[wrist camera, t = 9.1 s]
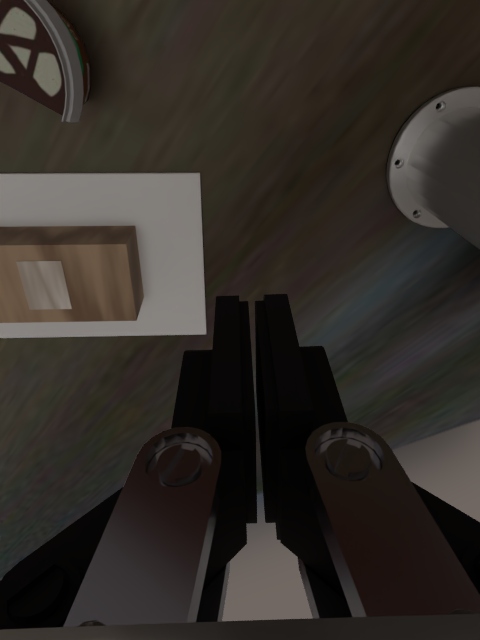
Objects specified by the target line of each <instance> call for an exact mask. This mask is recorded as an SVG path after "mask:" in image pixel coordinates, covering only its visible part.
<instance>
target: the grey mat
mask: <svg viewBox="0 0 480 640" xmlns="http://www.w3.org/2000/svg"><path fill="white" fill-rule="evenodd" d="M24 226H135V227H136V236H137V244H138V252H139V260H140V268H141V276H142V284H143V293H144V299H143V302H142V305H141V308H140V312H139V315H138V318H137V321H92V322H32V323H0V338H29V337H84V336H140V335H195V334H206V311H205V286H204V261H203V236H202V211H201V186H200V172H190V173H0V227H24Z"/></svg>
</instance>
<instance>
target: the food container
mask: <svg viewBox="0 0 480 640" xmlns="http://www.w3.org/2000/svg"><path fill="white" fill-rule="evenodd" d="M0 81H1V82H3V83H4V84H6V85H8V86H10V87H12V88H14V89H16V90H17V91H19V92H21V93H23V94H25V95H27V96H28V97H30V98H32V99H34V100H36V101H37V102H39V103H41V104H43V105H45V106H46V107H48V108H50V109H52V110H54V111H55V112H57V113H59V114H61V115H63V117H62V121H67V122H79V119H80V115H81V111H82V105H83V104H84V103H86V102H87V100H88V96H89V92H90V89H91V66H90V63H89V59H88V56H87V52H86V49H85V45H84V44H83V42H82V40H81V38H80V37H79V35H78V33H77V32H76V30H75V28H74V26H73V25H72V24H71V23H70V22H69V21H68V20H67V19H66V18H65V17H64V16H63V15H62V14H61V13H60V12H59V11H57V10H56V9H55V8H53V7H52V6H51V5H50V4H49V2H48V1H47V0H0Z"/></svg>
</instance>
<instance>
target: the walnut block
mask: <svg viewBox="0 0 480 640" xmlns="http://www.w3.org/2000/svg"><path fill="white" fill-rule="evenodd" d="M143 299H144V293H143V284H142V276H141V268H140V260H139V252H138V244H137V236H136V227H135V226H24V227H0V323H32V322H92V321H137V318H138V315H139V312H140V308H141V305H142V302H143Z"/></svg>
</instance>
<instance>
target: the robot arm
mask: <svg viewBox="0 0 480 640" xmlns="http://www.w3.org/2000/svg"><path fill="white" fill-rule="evenodd" d="M438 103H439V107H438V108H437V109H436V105H437V104H438ZM397 159H398V163H397V164H394V163H395V161H396V160H397ZM386 179H387V185H388V190H389V193H390V196H391V198H392V201H393V202H394V204H395V205H396V207H397V208H398V210H400V211H401V212H402V213H403V214H404V215H405V216H406V217H407V218H409V219H410V220H411V221H413V222H415V223H417V224H420V225H422V226H425V227H431V228H449V227H450V228H451V229H453V230H454V231H455V232H457V233H458V234H459V235H461V236H462V237H463V238H465V239H466V240H467V241H469V242H470V243H472V244H473V245H474V246H476V247H477V248H478V249H480V87H461V88H456V89H451V90H449V91H446V92H444V93H441V94H439V95H437V96H435V97H434V98H432V99H430V100H429V101H427V102H426V103H424V104H423V105H422V106H421V107H420V108H418V109H417V110H416V111H415V112H414V113H413V114H412V115H411V116H410V117H409V119H408V120H407V121H406V122H405V124H404V125H403V126H402V128H401V129H400V131H399V133H398V134H397V136H396V138H395V140H394V143H393V145H392V148H391V150H390V153H389V158H388V162H387V175H386ZM415 210H416V212H415V213H413V212H414V211H415ZM255 332H256V396H257V412H258V426H259V440H260V454H261V468H262V482H263V496H264V509H265V522H266V523H274V522H275V523H276V532H277V539H278V540H281V543H282V544H283V545H284V546H286V547H287V548H288V549H289V550H290V551H292V552H293V553H294V554H295V555H296V556H297V557H298V564H299V571H300V574H301V578H302V581H303V585H304V589H305V592H306V596H307V599H308V603H309V606H310V610H311V613H312V617H313V619H286V620H285V619H284V620H253V621H226V622H222V617H223V610H224V604H225V598H226V591H227V584H228V578H229V571H230V570H229V569H230V565H229V561H230V560H231V559H232V558H233V557H234V556H235V555H236V554H237V553H238V552H239V551H240V550H241V549H242V548H243V547H244V546H245V545H246V544H247V534H246V533H247V531H246V523H257V490H256V426H255V401H254V385H253V370H252V354H251V339H250V323H249V308H248V301H241V302H239V296H216V307H215V322H214V336H213V350H189V351H185V352H184V355H183V361H182V367H181V373H180V379H179V385H178V391H177V397H176V403H175V409H174V415H173V421H172V427H171V429H168V430H165V431H162V432H160V433H158V434H157V435H155V436H153V437H152V438H150V439H149V440H148V441H147V442H146V443H145V444H144V445H143V446H142V448H141V449H140V451H139V452H138V454H137V456H136V458H135V461H134V463H133V465H132V468H131V470H130V472H129V475H128V477H127V479H126V482H125V484H124V486H123V487H122V488H121V489H120V490H118V491H117V492H116V493H114V494H113V495H111V496H110V497H109V498H107V499H106V500H104V501H103V502H102V503H100V504H99V505H98V506H96V507H95V508H93V509H92V510H91V511H89V512H88V513H87V514H85V515H84V516H82V517H81V518H80V519H78V520H77V521H75V522H74V523H73V524H71V525H70V526H69V527H67V528H66V529H64V530H63V531H62V532H60V533H59V534H58V535H56V536H55V537H53V538H52V539H51V540H49V541H48V542H46V543H45V544H44V545H42V546H41V547H40V548H38V549H37V550H35V551H34V552H33V553H31V554H30V555H28V556H27V557H26V558H24V559H23V560H22V561H20V562H19V563H18V564H17V565H16V566H14V567H13V568H12V569H11V570H10V571H9V572H8V573H7V574H5V576H4V577H3V578H0V640H480V522H478V521H476V520H475V519H473V518H471V517H470V516H468V515H466V514H465V513H463V512H461V511H460V510H458V509H456V508H455V507H453V506H451V505H449V504H448V503H446V502H445V501H443V500H441V499H439V498H438V497H436V496H434V495H433V494H431V493H429V492H428V491H426V490H424V489H423V488H421V487H419V486H418V485H416V484H414V483H413V482H411V481H410V479H409V478H408V476H407V474H406V473H405V471H404V469H403V468H402V466H401V465H400V463H399V461H398V460H397V458H396V456H395V455H394V453H393V451H392V450H391V448H390V446H389V445H388V444H387V443H386V441H385V440H384V439H383V438H382V437H381V436H380V435H378V434H377V433H376V432H374V431H373V430H371V429H369V428H367V427H364V426H362V425H360V424H355V423H350V422H348V421H347V418H346V415H345V412H344V409H343V406H342V402H341V399H340V396H339V393H338V390H337V387H336V384H335V380H334V377H333V374H332V371H331V368H330V365H329V362H328V358H327V355H326V352H325V350H324V347H322V346H309V347H299V343H298V339H297V335H296V331H295V326H294V322H293V318H292V313H291V309H290V305H289V300H288V296H287V294H272V295H264V301H255Z"/></svg>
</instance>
